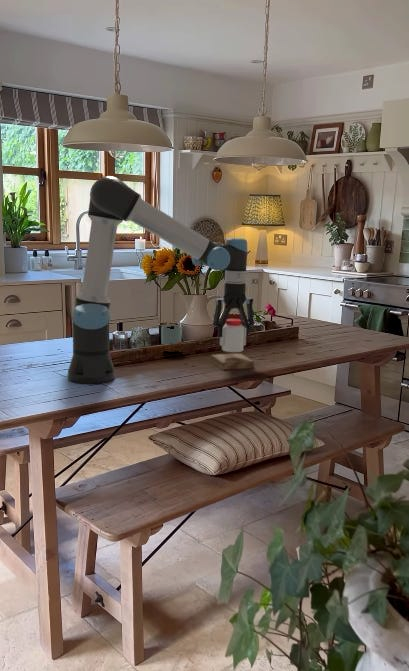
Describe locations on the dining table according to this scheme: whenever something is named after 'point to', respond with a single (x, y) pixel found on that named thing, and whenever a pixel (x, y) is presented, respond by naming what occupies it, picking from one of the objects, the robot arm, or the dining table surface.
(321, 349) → the dining table surface
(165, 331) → the pale green box
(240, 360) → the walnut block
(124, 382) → the dining table surface
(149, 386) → the dining table surface
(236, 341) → the pill bottle
